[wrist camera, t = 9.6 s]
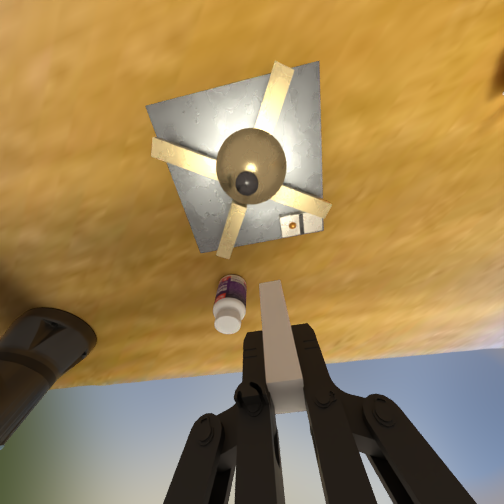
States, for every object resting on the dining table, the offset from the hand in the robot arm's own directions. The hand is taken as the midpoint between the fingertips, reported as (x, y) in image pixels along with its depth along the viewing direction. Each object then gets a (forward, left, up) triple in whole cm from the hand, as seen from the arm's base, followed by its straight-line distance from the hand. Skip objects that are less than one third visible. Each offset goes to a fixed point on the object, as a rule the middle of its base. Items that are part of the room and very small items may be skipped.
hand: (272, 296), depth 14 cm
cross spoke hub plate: (-1, +6, -19) cm, 20 cm away
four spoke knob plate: (-1, +6, -17) cm, 18 cm away
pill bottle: (-8, -13, -20) cm, 25 cm away
